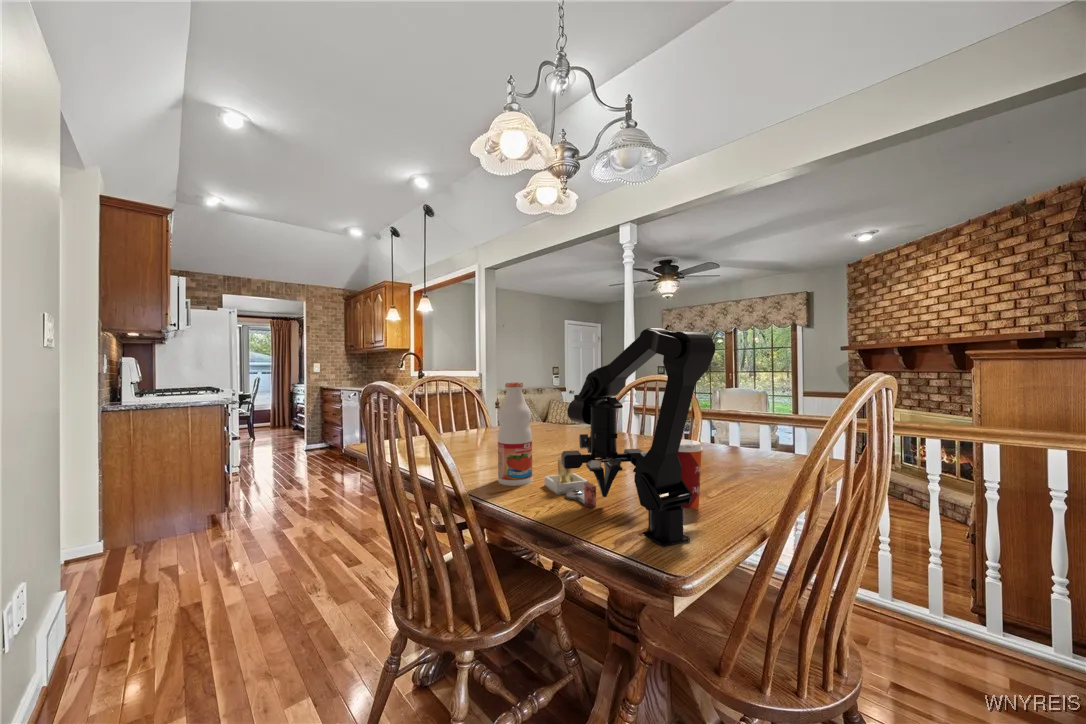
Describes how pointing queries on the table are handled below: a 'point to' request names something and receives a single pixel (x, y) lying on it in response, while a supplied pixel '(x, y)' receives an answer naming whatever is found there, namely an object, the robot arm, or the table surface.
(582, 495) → the crank
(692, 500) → the coffee cup
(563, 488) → the tray
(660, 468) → the robot arm
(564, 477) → the pin
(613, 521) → the table surface
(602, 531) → the table surface
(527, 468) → the fruit juice
